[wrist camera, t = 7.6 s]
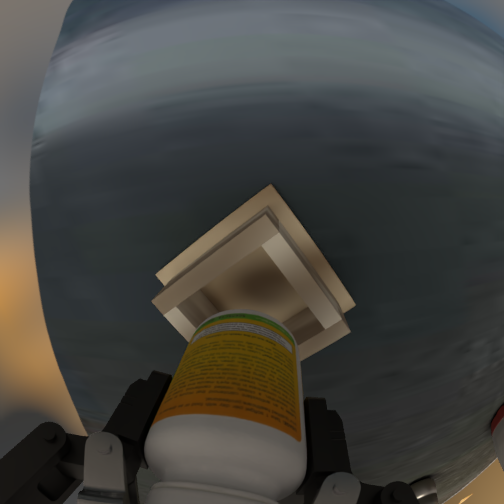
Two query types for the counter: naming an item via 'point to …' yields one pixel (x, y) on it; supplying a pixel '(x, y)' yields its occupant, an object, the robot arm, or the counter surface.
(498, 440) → the citrus juicer
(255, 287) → the open square wooden box
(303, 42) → the counter surface
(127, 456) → the robot arm
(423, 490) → the plastic bottle
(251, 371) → the supplement bottle
